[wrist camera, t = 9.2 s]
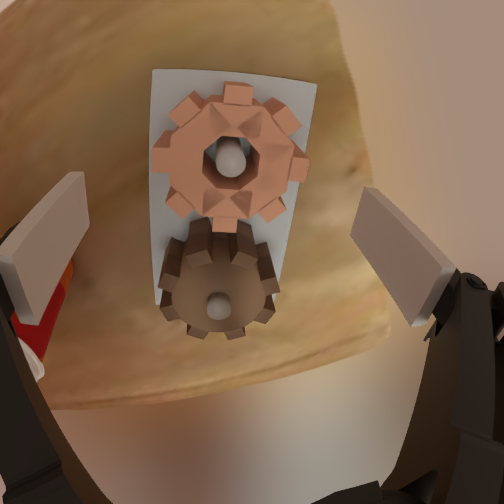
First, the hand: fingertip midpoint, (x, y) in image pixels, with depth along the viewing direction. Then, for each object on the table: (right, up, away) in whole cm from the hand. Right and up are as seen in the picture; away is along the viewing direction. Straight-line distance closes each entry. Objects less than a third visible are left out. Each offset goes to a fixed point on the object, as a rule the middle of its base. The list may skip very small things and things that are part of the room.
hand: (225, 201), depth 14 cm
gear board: (-1, +2, +13) cm, 14 cm away
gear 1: (-1, +6, +9) cm, 11 cm away
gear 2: (-2, -3, +15) cm, 15 cm away
